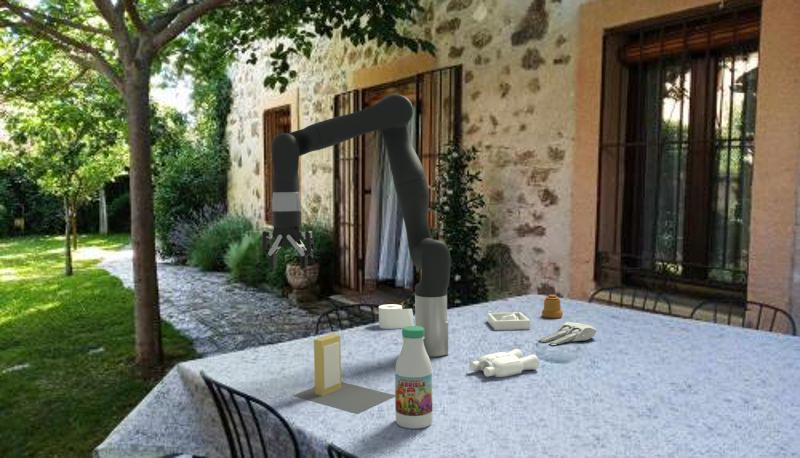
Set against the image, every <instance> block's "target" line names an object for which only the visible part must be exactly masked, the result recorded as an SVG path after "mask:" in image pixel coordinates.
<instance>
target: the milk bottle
mask: <svg viewBox="0 0 800 458" xmlns="http://www.w3.org/2000/svg"><path fill="white" fill-rule="evenodd" d="M401 336H402V338H401V339H402V340H403V341H402V342H403V343H402V347H401V349H400V353H399V355H398V357H397V359H396V363H395V372H394V373H395V374H394V377H395V378H394V380H395V382H394V387H395V388H394V392H395V393H394V395H395V397H394V398H395V422H396V424H397V425H398V426H399V427H401V428H405V429H410V430H411V429H413V430H415V429H417V430H418V429H424V428H427V427H430V426H431V425H432V423H433V417H434V414H433V411H434V410H433V409H434V404H433V403H434V400H433V398H434V397H433V369H432V363H431V359H430V357H429V356H428V354H427V352H426V350H425V347H424V343H423V339H424V328H423V327H420V326H415V325H413V326H407V327H404V328H401Z"/></svg>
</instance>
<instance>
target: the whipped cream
mask: <svg viewBox="0 0 800 458" xmlns="http://www.w3.org/2000/svg"><path fill="white" fill-rule="evenodd" d="M508 313H509V314H507V315H506V316H502V319H501V320H519V319H518V317H516V316H515V314H514V313H515V312H508Z"/></svg>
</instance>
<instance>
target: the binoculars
mask: <svg viewBox="0 0 800 458" xmlns="http://www.w3.org/2000/svg"><path fill="white" fill-rule="evenodd" d="M539 366H540V360H539V358H538V356H537V355H535V354H530V355H528V356H524V355H523V353H522V351H521V350H520V349H518V348H514V349H512V350H511V351H508V352H505V351H502V352H501V351H500V352H493V353H490V354H486V355H483V356H481V357H479V358H478V360H475V361H471V362H470V363H469V368H470V370H471V371H472V372H474V371H478V370H479V371H481V372H483V374H484V376H485V377H496V378H505V377H510V376H515V375H519V374H522V372H523V371H526V370H533V371H534V370H535V371H536V370H538V369H539Z"/></svg>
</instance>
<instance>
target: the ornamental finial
mask: <svg viewBox="0 0 800 458" xmlns="http://www.w3.org/2000/svg"><path fill="white" fill-rule="evenodd" d="M561 307H562V306H561V299H560V298H559V296H557V294H548V295H547V296H546V297H545V298H544V299H543V309H542V311H541V315H542V317H544V318H545V319H560V318H562V317H563V315H564V314H563V313H564V312H563V310H562V309H561Z"/></svg>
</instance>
